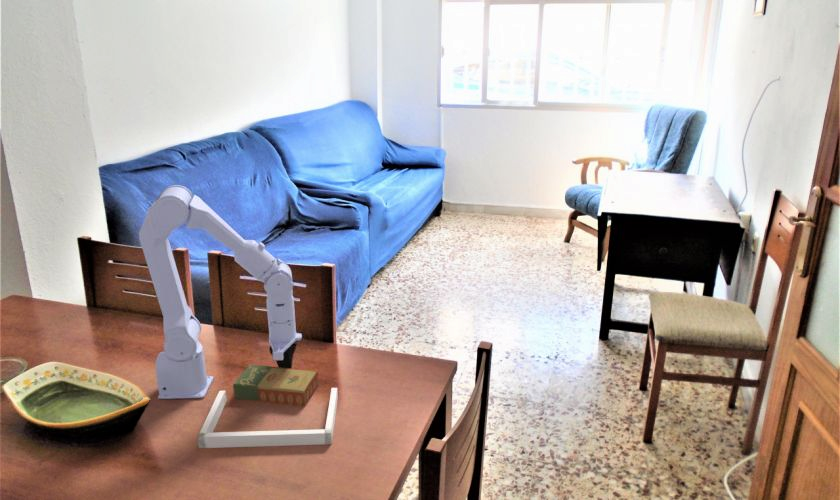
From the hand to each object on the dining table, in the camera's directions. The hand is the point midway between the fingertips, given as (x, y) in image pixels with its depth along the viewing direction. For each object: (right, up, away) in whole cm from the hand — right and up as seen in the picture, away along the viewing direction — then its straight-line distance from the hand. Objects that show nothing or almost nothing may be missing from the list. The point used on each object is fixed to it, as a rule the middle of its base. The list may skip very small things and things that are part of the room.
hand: (285, 372), depth 131 cm
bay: (+1, -6, -14) cm, 16 cm away
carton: (-1, -4, -5) cm, 6 cm away
